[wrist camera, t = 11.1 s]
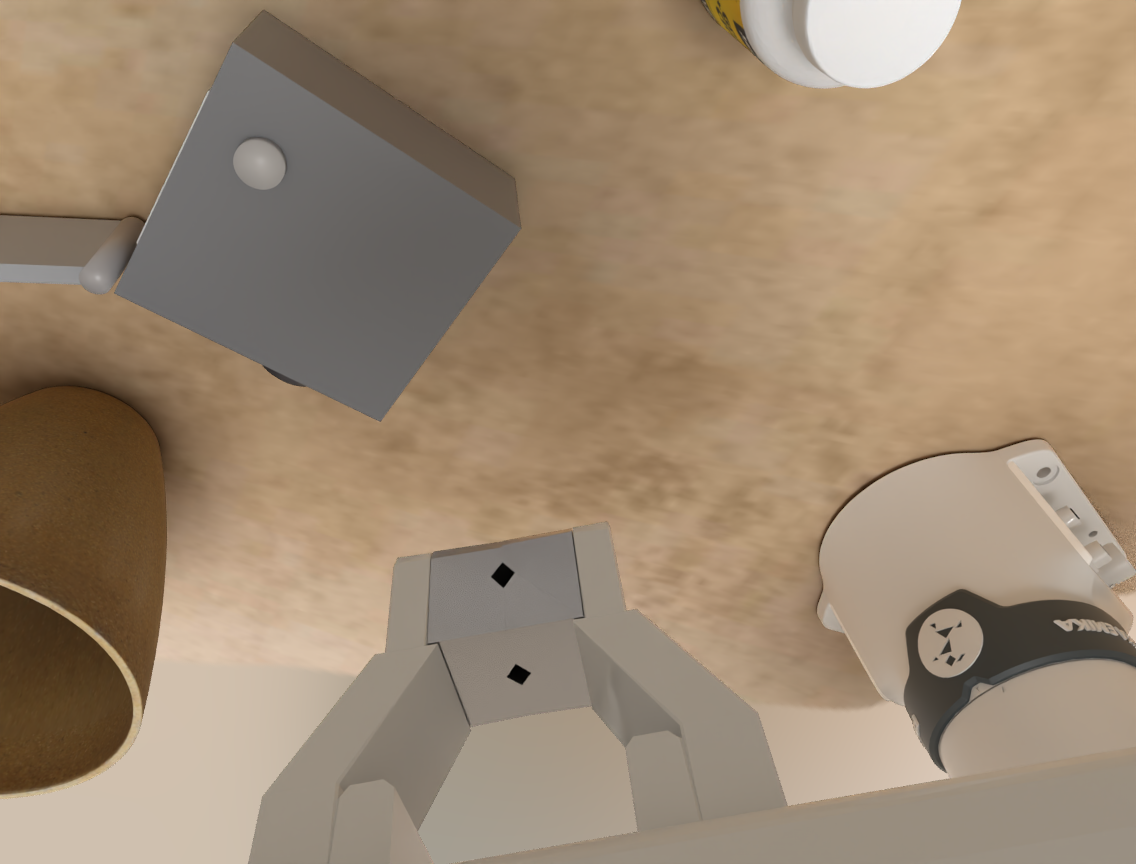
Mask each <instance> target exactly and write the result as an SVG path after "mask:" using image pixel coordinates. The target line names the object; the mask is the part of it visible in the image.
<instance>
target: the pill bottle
mask: <svg viewBox="0 0 1136 864" xmlns="http://www.w3.org/2000/svg"><path fill="white" fill-rule="evenodd" d="M701 1H702V3H703V5H704V7H705V8H706V10H707V11H708V13H709V14H710V15H711V17H712V18H713V19H714V20H715V21H716V22H717V23H718V24H719V25H720V26H722V27H723V28H724V29H725V30H726V31H727V32H729V33H730V34H731V35H732V36H733V37H734V38H735V39H737V40H738V41H739V42H740V43H741V44H742V45H744V46H745V47H746V48H747V49H748V50H749V51H750V52H751V53H753V54H754V55H755V56H756V57H757V58H758V59H759V60H760V61H761V62H762V63H763V64H764V65H766V66H767V67H768V68H769V69H770V70H772V71H773V72H774V73H776V74H777V75H779V76H780V77H782V78H783V79H785V80H788V81H790V82H792V83H795V84H798V85H801V86H805V87H811V88H836V87H841V86H849V87H855V88H876V87H881V86H885V85H888V84H891V83H893V82H896V81H898V80H900V79H902V78H904V77H906V76H907V75H909V74H910V73H912V72H914V71H915V70H916V69H918V68H919V67H920V66H921V65H923V64H924V63H925V62H926V61H927V60H928V59H929V58H930V57H931V56H932V55H933V54H934V52H935V51H936V50H937V49H938V48H939V47H940V45H941V44H942V42H943V41H944V39H945V38H946V36H947V35H948V33H949V31H950V29H951V27H952V25H953V23H954V21H955V18H956V16H957V13H958V10H959V8H960V4H961V0H701Z"/></svg>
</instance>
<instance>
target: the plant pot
mask: <svg viewBox="0 0 1136 864" xmlns="http://www.w3.org/2000/svg"><path fill="white" fill-rule="evenodd" d="M166 548H167V515H166V496H165V482H164V474H163V466H162V459H161V453H160V447H159V444H158V440H157V438H156V436H155V434H154V432H153V430H152V429H151V427H150V426H149V424H148V423H147V422H146V421H145V420H144V419H143V418H142V417H141V416H140V415H139V414H138V413H137V412H136V411H135V410H134V409H132V408H131V407H130V406H128V405H127V404H125V403H124V402H122V401H120V400H118V399H116V398H114V397H112V396H110V395H108V394H105V393H103V392H99V391H96V390H93V389H88V388H83V387H76V386H57V387H50V388H44V389H41V390H38V391H35V392H33V393H30V394H27V395H25V396H22V397H20V398H17V399H15V400H12V401H10V402H8V403H5V404H3V405H1V406H0V799H7V798H18V797H28V796H34V795H40V794H46V793H51V792H55V791H59V790H63V789H66V788H69V787H72V786H75V785H78V784H80V783H83V782H85V781H87V780H90V779H92V778H93V777H95V776H97V775H99V774H101V773H103V772H104V771H106V770H107V769H109V768H110V767H111V766H112V765H114V764H115V763H116V762H117V761H118V760H120V759H121V758H122V757H123V756H124V755H125V754H126V753H127V751H128V750H129V749H130V747H131V746H132V744H133V743H134V741H135V739H136V737H137V735H138V733H139V730H140V726H141V722H142V718H143V714H144V709H145V705H146V700H147V696H148V691H149V686H150V681H151V676H152V670H153V665H154V660H155V654H156V648H157V642H158V636H159V628H160V620H161V613H162V605H163V594H164V582H165V568H166Z"/></svg>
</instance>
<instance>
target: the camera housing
mask: <svg viewBox="0 0 1136 864" xmlns="http://www.w3.org/2000/svg"><path fill="white" fill-rule="evenodd" d="M520 230H521V222H520V215H519V207H518V199H517V191H516V184H515V179H514V178H513V177H511V176H510V175H508V174H507V173H505V172H504V171H502V170H501V169H499V168H498V167H497V166H495V165H494V164H492V163H491V162H489V161H488V160H486V159H485V158H483V157H482V156H480V155H479V154H477V153H476V152H474V151H473V150H471V149H470V148H468V147H467V146H465V145H464V144H462V143H461V142H459V141H458V140H456V139H455V138H453V137H452V136H450V135H449V134H447V133H446V132H445V131H443V130H442V129H440V128H439V127H437V126H436V125H434V124H433V123H431V122H430V121H428V120H427V119H425V118H424V117H422V116H421V115H419V114H418V113H416V112H415V111H413V110H412V109H410V108H409V107H407V106H406V105H404V104H403V103H401V102H400V101H398V100H397V99H395V98H394V97H393V96H391V95H390V94H388V93H387V92H385V91H384V90H382V89H381V88H379V87H378V86H376V85H375V84H373V83H372V82H370V81H369V80H367V79H366V78H364V77H363V76H361V75H360V74H358V73H357V72H355V71H354V70H352V69H351V68H349V67H348V66H346V65H345V64H343V63H342V62H341V61H339V60H338V59H336V58H335V57H333V56H332V55H330V54H329V53H327V52H326V51H324V50H323V49H321V48H320V47H318V46H317V45H315V44H314V43H312V42H311V41H309V40H308V39H306V38H305V37H303V36H302V35H300V34H299V33H297V32H296V31H294V30H293V29H291V28H290V27H289V26H287V25H286V24H284V23H283V22H281V21H280V20H278V19H277V18H275V17H274V16H272V15H271V14H269V13H268V12H266V11H265V10H263V11H262V12H261V13H260V14H259V15H258V16H257V17H256V18H255V19H254V20H253V22H252V23H251V24H250V25H249V26H248V27H247V28H246V29H245V30H244V31H243V32H242V33H241V34H240V35H239V36H238V37H237V38H236V39H235V41H234V42H233V43H232V45H231V47H230V49H229V51H228V54H227V56H226V58H225V60H224V62H223V64H222V66H221V68H220V70H219V73H218V75H217V77H216V79H215V81H214V83H213V85H212V87H211V88H210V89H209V90H208V92H207V94H206V96H205V98H204V100H203V102H202V104H201V107H200V109H199V111H198V113H197V115H196V117H195V119H194V121H193V124H192V126H191V128H190V130H189V132H188V134H187V136H186V138H185V141H184V143H183V145H182V147H181V149H180V151H179V153H178V155H177V157H176V160H175V162H174V164H173V166H172V168H171V170H170V172H169V174H168V177H167V179H166V181H165V183H164V185H163V187H162V189H161V191H160V194H159V196H158V198H157V200H156V202H155V204H154V206H153V208H152V210H151V213H150V215H149V217H148V219H147V221H146V223H145V225H144V227H143V230H142V232H141V234H140V236H139V238H138V240H137V242H136V243H137V246H136V248H135V250H134V252H133V254H132V256H131V259H130V261H129V263H128V265H127V267H126V269H125V271H124V273H123V276H122V278H121V280H120V282H119V284H118V286H117V288H116V290H115V292H114V293H115V294H117V295H119V296H121V297H123V298H125V299H127V300H129V301H131V302H133V303H135V304H137V305H139V306H141V307H144V308H146V309H148V310H150V311H152V312H154V313H156V314H158V315H160V316H162V317H164V318H166V319H168V320H170V321H173V322H175V323H177V324H179V325H181V326H183V327H185V328H187V329H189V330H191V331H193V332H195V333H197V334H199V335H202V336H204V337H206V338H208V339H210V340H212V341H214V342H216V343H218V344H220V345H222V346H224V347H226V348H228V349H231V350H233V351H235V352H237V353H239V354H241V355H243V356H245V357H247V358H249V359H251V360H253V361H255V362H257V363H260V364H262V365H263V367H264V368H265V369H266V370H267V371H268V372H270V373H271V374H272V375H274V376H275V377H277V378H278V379H280V380H282V381H284V382H286V383H289V384H292V385H296V386H303V387H309V388H311V389H313V390H315V391H318V392H320V393H322V394H324V395H326V396H328V397H330V398H332V399H334V400H336V401H338V402H340V403H342V404H344V405H347V406H349V407H351V408H353V409H355V410H357V411H359V412H361V413H363V414H365V415H367V416H369V417H371V418H373V419H376V420H378V421H380V422H381V420H382V419H383V418H384V416H385V415H386V413H387V412H388V411H389V409H390V408H391V407H392V405H393V404H394V402H395V401H396V400H397V398H398V397H399V396H400V394H401V393H402V391H403V390H404V389H405V387H406V386H407V385H408V383H409V382H410V380H411V379H412V378H413V376H414V375H415V374H416V372H417V371H418V369H419V368H420V367H421V365H422V364H423V363H424V361H425V360H426V359H427V357H428V356H429V354H430V353H431V352H432V350H433V349H434V348H435V346H436V345H437V343H438V342H439V341H440V339H441V338H442V337H443V335H444V334H445V332H446V331H447V330H448V328H449V327H450V326H451V324H452V323H453V321H454V320H455V319H456V317H457V316H458V315H459V313H460V312H461V310H462V309H463V308H464V306H465V305H466V304H467V302H468V301H469V300H470V298H471V297H472V295H473V294H474V293H475V291H476V290H477V289H478V287H479V286H480V284H481V283H482V282H483V280H484V279H485V278H486V276H487V275H488V273H489V272H490V271H491V269H492V268H493V267H494V265H495V264H496V262H497V261H498V260H499V258H500V257H501V256H502V254H503V253H504V251H505V250H506V249H507V247H508V246H509V245H510V243H511V242H512V241H513V239H514V238H515V236H516V235H517V234H518V232H519V231H520Z"/></svg>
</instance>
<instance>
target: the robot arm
mask: <svg viewBox="0 0 1136 864" xmlns="http://www.w3.org/2000/svg"><path fill="white" fill-rule="evenodd" d="M819 566H820V572H821V576H822V580H823V592H822V595H821V597H820V600H819V603H818V607H817V615H818V617H819V619H820V620H821V622H822V624H823V625H824V627H826V628H827V629H830V630H834V631H838V632H842V633H845V634H846V636H847V638H848V640H849V642H850V643H851V645H852V647H853V649H854V651H855V652H856V654H857V656H858V658H859V660H860V661H861V663H862V665H863V667H864V669H865V670H866V672H867V674H868V676H869V677H870V679H871V681H872V683H873V684H874V686H875V688H876V690H877V691H878V693H879V694H880V695H881V697H882V698H884V699H885V700H886V701H892V702H894V703H896V704H898V705H902V706H905V707H906V710H907V712H908V714H909V716H910V718H911V720H912V724H913V728H914V730H915V732H916V734H917V736H918V738H919V740H920V742H921V743H922V745H923V746H924V747H925V749H926V750H927V751H928V753H929V755H930V757H931V758H932V760H933V762H934V763H935V764H936V765H937V766H938V767H939V768H940V769H941V770H942V771H944V772H946V773H947V774H948V776H949V778H950V779H944V780H938V781H932V782H926V783H921V784H914V785H909V786H903V787H897V788H891V789H885V790H879V791H873V792H867V793H862V794H856V795H850V796H845V797H838V798H833V799H826V800H821V801H815V802H809V803H804V804H797V805H791V806H788V805H787V802H786V799H785V796H784V793H783V790H782V786H781V783H780V780H779V777H778V774H777V771H776V768H775V765H774V762H773V758H772V755H771V752H770V749H769V746H768V743H767V740H766V737H765V733H764V730H763V727H762V724H761V721H760V718H759V715H758V713H757V712H756V711H755V710H754V709H753V708H752V707H751V706H749V705H748V704H747V703H746V702H745V701H744V700H742V699H741V698H740V697H739V696H738V695H737V694H735V693H734V692H733V691H732V690H731V689H730V688H728V687H727V686H726V685H725V684H724V683H723V682H721V681H720V680H719V679H718V678H717V677H716V676H714V675H713V674H712V673H711V672H710V671H709V670H707V669H706V668H705V667H704V666H703V665H702V664H700V663H699V662H698V661H697V660H696V659H695V658H693V657H692V656H691V655H690V654H689V653H688V652H686V651H685V650H684V649H683V648H682V647H681V646H679V645H678V644H677V643H676V642H675V641H674V640H672V639H671V638H670V637H669V636H668V635H667V634H666V633H664V632H663V631H662V630H661V629H660V628H659V627H657V626H656V625H655V624H654V623H653V622H652V621H650V620H649V619H648V618H647V617H646V616H645V615H643V614H642V613H641V612H640V611H639V610H638V609H635V610H628V611H627V610H626V605H625V600H624V595H623V590H622V585H621V580H620V575H619V570H618V565H617V560H616V555H615V550H614V545H613V540H612V535H611V530H610V526H609V524H608V523H607V521H606V522H601V523H596V524H591V525H585V526H580V527H575V528H573V532H572V528H570V529H565V530H559V531H554V532H548V533H543V534H538V535H532V536H527V537H521V538H516V539H510V540H505V541H502V542H495V543H489V544H482V545H475V546H469V547H462V548H455V549H449V550H442V551H436V552H433V553H428V554H421V555H414V556H407V557H400V558H397V561H396V563H395V565H394V567H393V577H392V587H391V598H390V608H389V618H388V628H387V639H386V649H385V653H381V654H376V655H374V656H373V657H372V659H371V660H370V661H369V662H368V664H367V665H366V666H365V667H364V669H363V670H362V671H361V673H360V674H359V675H358V676H357V678H356V679H355V680H354V681H353V683H352V684H351V685H350V687H349V688H348V689H347V690H346V691H345V693H344V694H343V695H342V697H341V698H340V699H339V700H338V702H337V703H336V704H335V705H334V707H333V708H332V709H331V711H330V712H329V713H328V714H327V716H326V717H325V718H324V719H323V721H322V722H321V723H320V724H319V726H318V727H317V728H316V729H315V731H314V732H313V733H312V734H311V736H310V737H309V738H308V740H307V741H306V742H305V743H304V745H303V746H302V747H301V748H300V750H299V751H298V752H297V753H296V755H295V756H294V757H293V759H292V760H291V761H290V762H289V764H288V765H287V766H286V767H285V769H284V770H283V771H282V772H281V774H280V775H279V776H278V778H277V779H276V780H275V781H274V783H273V784H272V785H271V786H270V788H269V789H268V790H267V792H266V793H265V794H264V795H263V796H262V800H261V805H260V810H259V814H258V819H257V824H256V829H255V834H254V838H253V843H252V848H251V853H250V858H249V862H248V864H434V863H433V861H432V859H431V857H430V855H429V853H428V851H427V849H426V847H425V845H424V843H423V841H422V839H421V837H420V835H419V834H418V830H419V828H420V826H421V824H422V822H423V821H424V818H425V817H426V815H427V813H428V811H429V809H430V807H431V805H432V804H433V802H434V800H435V798H436V796H437V794H438V792H439V790H440V788H441V787H442V785H443V783H444V781H445V779H446V777H447V775H448V773H449V771H450V769H451V768H452V766H453V764H454V762H455V760H456V758H457V756H458V754H459V753H460V750H461V749H462V747H463V745H464V743H465V741H466V739H467V737H468V736H469V734H470V732H471V729H470V727H473V726H478V725H483V724H488V723H492V722H498V721H503V720H508V719H513V718H518V717H523V716H528V715H534V714H541V713H548V712H554V711H561V710H567V709H575V708H582V707H589V706H592V709H593V710H594V711H595V712H596V714H597V715H598V716H599V717H600V718H601V720H602V721H603V722H604V723H605V724H606V726H607V727H608V728H609V729H610V730H611V731H612V733H613V734H614V735H615V736H616V737H617V739H619V741H620V742H621V743H622V744H623V746H624V747H625V750H626V756H627V763H628V770H629V776H630V782H631V790H632V796H633V803H634V809H635V816H636V822H637V830H638V832H633V833H627V834H622V835H615V836H610V837H604V838H598V839H592V840H586V841H580V842H574V843H569V844H563V845H557V846H551V847H545V848H539V849H533V850H528V851H522V852H516V853H510V854H504V855H498V856H492V857H486V858H481V859H475V860H469V861H463V862H457V863H451V864H1136V643H1135V642H1134V641H1133V640H1132V639H1131V638H1130V636H1128V633H1129V631H1130V629H1131V626H1132V623H1133V615H1132V613H1131V612H1130V611H1129V609H1128V608H1127V607H1126V606H1125V604H1124V603H1123V602H1122V601H1121V599H1120V598H1119V597H1118V596H1117V594H1116V593H1115V592H1114V591H1113V590H1112V588H1113V587H1115V584H1116V583H1117V584H1120V582H1124V581H1125V580H1127V579H1129V578H1131V577H1133V576H1134V575H1135V573H1136V570H1135V569H1134V567H1133V566H1132V565H1131V564H1130V562H1129V561H1128V560H1127V556H1126V553H1125V552H1124V550H1123V549H1122V547H1121V546H1120V544H1119V543H1118V541H1117V540H1116V538H1115V537H1114V535H1113V534H1112V533H1111V531H1110V530H1109V528H1108V527H1107V525H1106V524H1105V523H1104V521H1103V520H1102V518H1101V517H1100V515H1099V514H1098V513H1097V511H1096V510H1095V508H1094V507H1093V505H1092V504H1091V503H1090V501H1089V500H1088V498H1087V497H1086V495H1085V494H1084V493H1083V491H1082V490H1081V488H1080V487H1079V485H1078V484H1077V483H1076V481H1075V480H1074V478H1073V477H1072V475H1071V474H1070V473H1069V471H1068V470H1067V468H1066V467H1065V465H1064V464H1063V463H1062V461H1061V460H1060V458H1059V457H1058V455H1057V454H1056V453H1055V451H1054V450H1053V448H1052V447H1051V446H1050V444H1049V443H1048V442H1046V441H1045V440H1041V439H1035V440H1029V441H1025V442H1021V443H1018V444H1015V445H1012V446H1009V447H1006V448H1003V449H1000V450H997V451H993V452H984V453H959V454H949V455H943V456H937V457H933V458H929V459H925V460H922V461H919V462H916V463H913V464H910V465H908V466H905V467H903V468H900V469H898V470H896V471H894V472H892V473H890V474H888V475H886V476H884V477H883V478H881V479H879V480H878V481H876V482H874V483H873V484H871V485H870V486H868V487H867V488H866V489H864V490H863V491H862V492H860V493H859V494H858V495H857V496H856V497H855V498H853V499H852V500H851V501H850V502H849V503H848V504H847V505H846V506H845V507H844V508H843V509H842V511H841V512H840V513H839V514H838V515H837V517H836V518H835V519H834V521H833V522H832V524H831V525H830V527H829V529H828V530H827V533H826V535H825V537H824V539H823V542H822V545H821V549H820V555H819Z"/></svg>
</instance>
